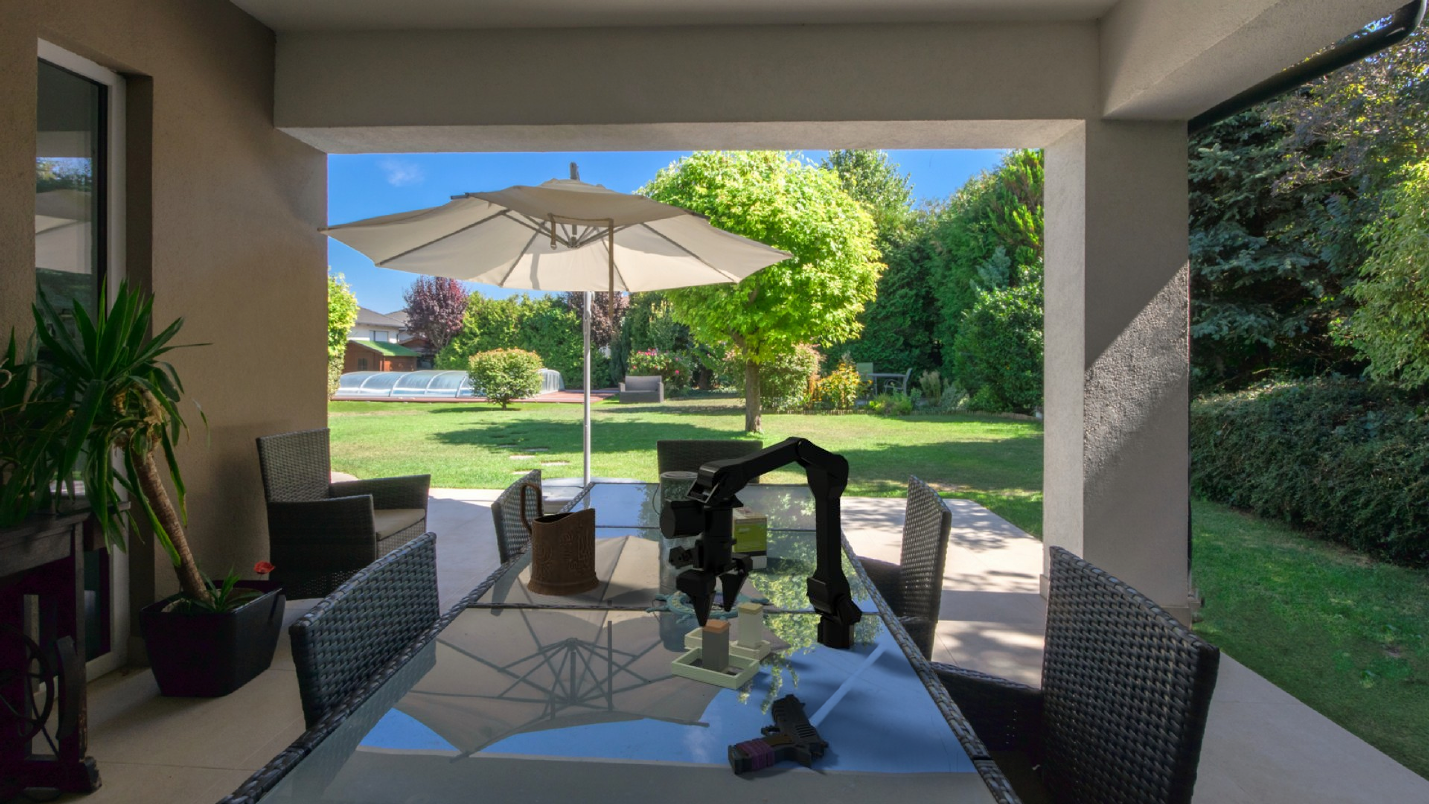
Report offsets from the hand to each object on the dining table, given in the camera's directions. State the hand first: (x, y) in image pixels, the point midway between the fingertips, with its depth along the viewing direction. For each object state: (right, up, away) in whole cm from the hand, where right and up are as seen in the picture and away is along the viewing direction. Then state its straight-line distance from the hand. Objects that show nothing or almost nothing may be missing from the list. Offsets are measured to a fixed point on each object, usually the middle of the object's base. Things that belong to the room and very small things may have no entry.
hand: (715, 618), depth 137 cm
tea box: (+8, -7, +80) cm, 81 cm away
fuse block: (+2, -10, +12) cm, 16 cm away
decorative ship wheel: (-1, -10, +39) cm, 40 cm away
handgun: (+9, -13, -21) cm, 26 cm away
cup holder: (-41, -8, +58) cm, 71 cm away
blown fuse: (0, -10, +1) cm, 10 cm away
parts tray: (0, -11, +1) cm, 11 cm away
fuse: (+7, -10, +10) cm, 15 cm away
